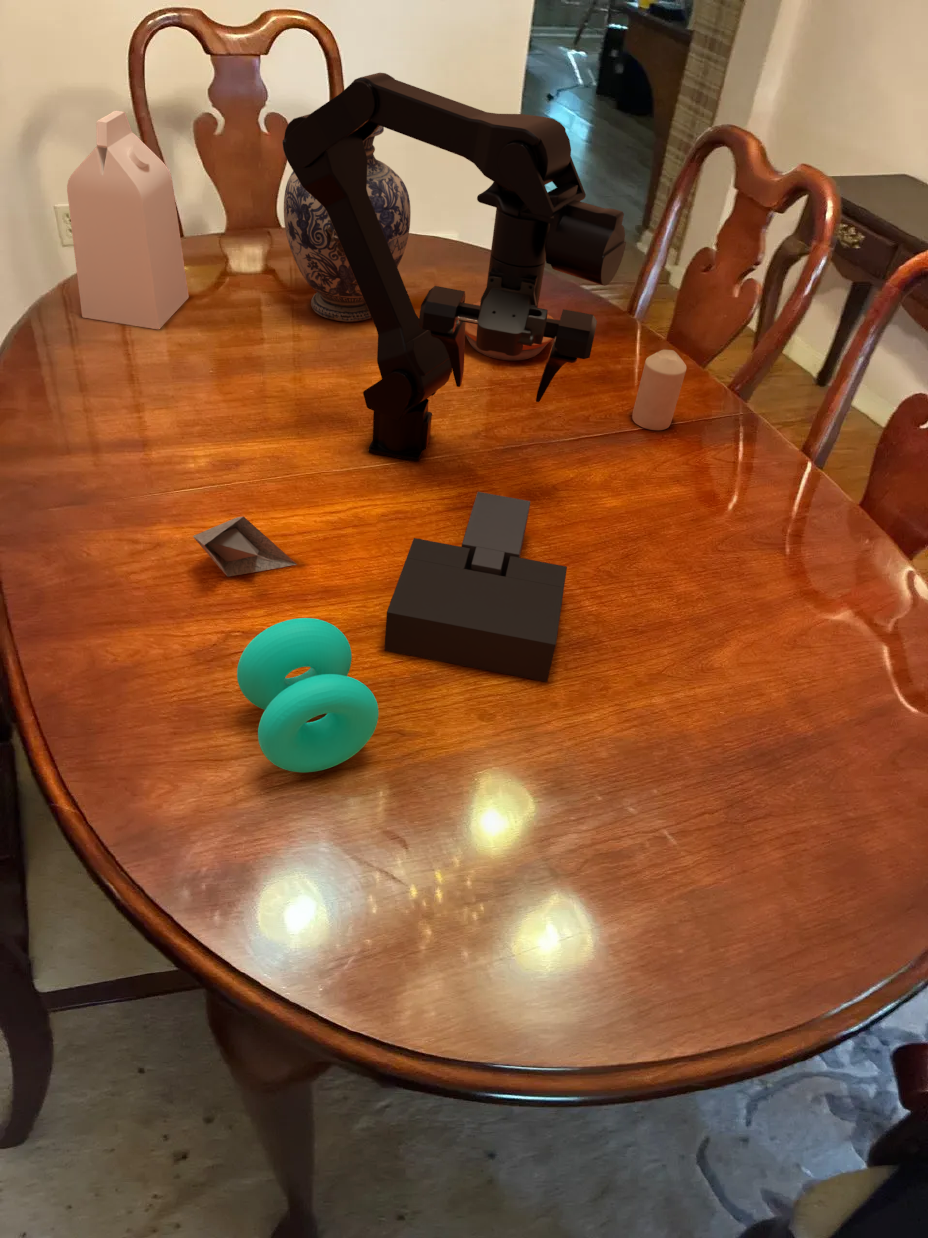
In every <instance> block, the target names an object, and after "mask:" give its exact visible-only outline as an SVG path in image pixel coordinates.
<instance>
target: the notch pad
mask: <svg viewBox="0 0 928 1238" xmlns="http://www.w3.org/2000/svg"><path fill="white" fill-rule="evenodd" d="M469 551H470V548H465V547H462V546H459V545H455V544H448V543H443V542H438V541H433V540H427V539H421V538H417V537H414V538H413V539H412V542H411V545H410V547H409V550H408V552H407V556H406V558H405V561H404V564H403V566H402V569H401V572H400V575H399V578H398V581H397V583H396V586H395V588H394V591H393V594H392V597H391V599H390V603H389V604H388V607H387V611H386V618H385V619H386V620H385V635H384V651H386V652H390V653H391V652H392V653H397V654H400V655H401V654H402V655H406V656H411V657H417V658H422V659H427V660H433V661H438V662H442V663H448V664H453V665H457V666H463V667H469V668H473V669H478V670H482V671H488V672H494V673H499V674H503V675H509V676H513V677H519V678H525V679H529V680H534V681H540V682H545V683H547V682H548V680H549V676H550V673H551V672H550V671H551V668H552V663H553V658H554V655H555V650H556V646H557V640H558V633H559V626H560V619H561V611H562V604H563V596H564V592H565V585H566V584H565V583H566V576H567V569H568V566H566V565H561V564H556V563H549V562H545V561H539V560H533V559H528V558H523V557H520V558H519V557H513V556H510V559H509V564H508V568H507V573H506V577H504V576H499V575H494V574H488V573H483V572H478V571H472V570H467V566H468V559H469Z"/></svg>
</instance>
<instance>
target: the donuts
mask: <svg viewBox="0 0 928 1238" xmlns="http://www.w3.org/2000/svg"><path fill="white" fill-rule="evenodd" d="M352 654H353V653H352V648H351V644H350V643H349V640H348V638H347V637H346V634H344V633H343V631H341V630H340V629H339V628H338V627H337V626H335V625H334V624H332V623H330V622H328V621H326V620H323V619H320V618H314V617H298V618H290V619H286V620H284V621H279V622H277V623H275V624H273V625H271V626H268V627H267V628H265V629H264V630H262V631H261V632H260V633H258V634H257V635H255V637H254V638H252V640H250V642H249V643H248V644H247V645H246V646H245V648H244V649H243V651H242V653H241V655H240V657H239V660H238V662H237V668H236V678H237V684H238V688H239V690H240V691H241V693H242V695H243V696H244V697H245V699H247V700H248V702H250V703H251V704H252V705H254V706H256V707H257V708H259V709H260V710H261V709H262V710H264V711H263V712H262V715H261V717H260V719H259V724H258V728H257V742H258V744H259V747H260V750H261V752H262V754H263V755H264V756H265V758H266V759H267V760H268V761H269V762H270V763H272V764H273V765H274V766H276V767H278V768H280V769H281V770H285V771H288V772H293V773H315V772H321V771H325V770H328V769H331V768H333V767H336V766H338V765H340V764H343V763H345V762H346V761H348V760H349V759H351V758H352V757H353V756H355V755H356V754H357V753H359V752H360V751H361V750H363V748H364V747H365V746H366V745H367V744H368V742H370V740H371V738H372V737H373V735H374V733H375V731H376V728H377V725H378V722H379V715H380V710H379V704H378V701H377V698H376V697H375V694H374V693H373V692H372V691H371V689H370V688H369V687H368V686H367V685H366V684H364V683H363V682H362V681H360V680H359V679H357V678H354V677H351V676H348V675H349V673H350V670H351V667H352V659H353V655H352ZM300 668H308V670H306V671H304V672H303V673H301V674H299V675H296V676H293V677H287V676H288V675H289V674H290V673H292V672H293V671H295V670H297V669H300ZM321 715H324V716H322V717H321V718H319V719H317V720H314V721H310V720H311V719H314V718H316V717H318V716H321Z"/></svg>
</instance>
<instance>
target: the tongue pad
mask: <svg viewBox="0 0 928 1238" xmlns="http://www.w3.org/2000/svg"><path fill="white" fill-rule="evenodd" d="M530 508H531V500H526V499H521V498H516V497H510V496H504V495H498V494H493V493H489V492H488V493H487V492H483V491H477V492H476V495H475V499H474V502H473V506H472V509H471V511H470V515H469V519H468V523H467V526H466V529H465V533H464V536H463V540H462V543H461V547H465V548H470V551H469V559H468V566H467V570H472V571H478V572H483V573H488V574H494V575H499V576H504V577H506V573H507V568H508V564H509V559H510V556H513V557H519V558H521V556H522V555H521V554H522V549H523V545H524V541H525V535H526V529H527V523H528V519H529V512H530Z"/></svg>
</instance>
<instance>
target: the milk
mask: <svg viewBox="0 0 928 1238" xmlns="http://www.w3.org/2000/svg"><path fill="white" fill-rule="evenodd" d="M95 122H96V123H95V124H96V125H95V126H96V147H95V148H94V149H93V150H92V151H91V152H90V153H89V154H88V155H87V156H86V157H85V159H84V160H83V161H82V162H81V163H80V164H79V165H78V166H77V167H76V168H75V169H74V171H73V172H72V174H70V176H69V178H68V180H67V184H66V188H67V189H66V192H67V201H68V209H69V210H68V211H69V218H70V225H71V234H72V244H73V251H74V252H73V253H74V258H75V260H74V261H75V268H76V276H77V277H76V278H77V286H78V293H79V294H78V295H79V301H80V302H79V303H80V310H81V311H80V312H81V317H82V318H84V319H89V320H90V319H91V320H97V321H102V322H103V321H104V322H109V323H115V324H121V325H128V326H134V327H140V328H146V329H153V330H160V329H161V328H162V327H164V325H165V324H167V322H168V321H169V320H170V318H172V316H174V314H175V313H176V312H177V311H178V310H179V309H180V308H181V306H183V305H184V304H185V302H187V300H188V299H189V298H190V296H189V289H188V282H187V275H186V268H185V267H186V266H185V260H184V254H183V246H182V239H181V232H180V225H179V217H178V212H177V204H176V198H175V197H176V196H175V190H174V183H173V178H172V174H171V171H170V170H169V168H168V167H167V165H166V163H164V162H163V160H162V159H161V158H159V156H157V154H155V152H154V151H153V150H152V149H150V147H148V146H147V144H145V143H144V142H143V141H142V140H141V139H140V137H138V135H136V134H135V133H134V132H133V130H132V127H131V125H130V122H129V119H128V116H127V113H126V111H121V110H113V111H112V112H110V113H109V114H106V115H105V116H103V117H100V118H99V119H97V120H96V121H95Z"/></svg>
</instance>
